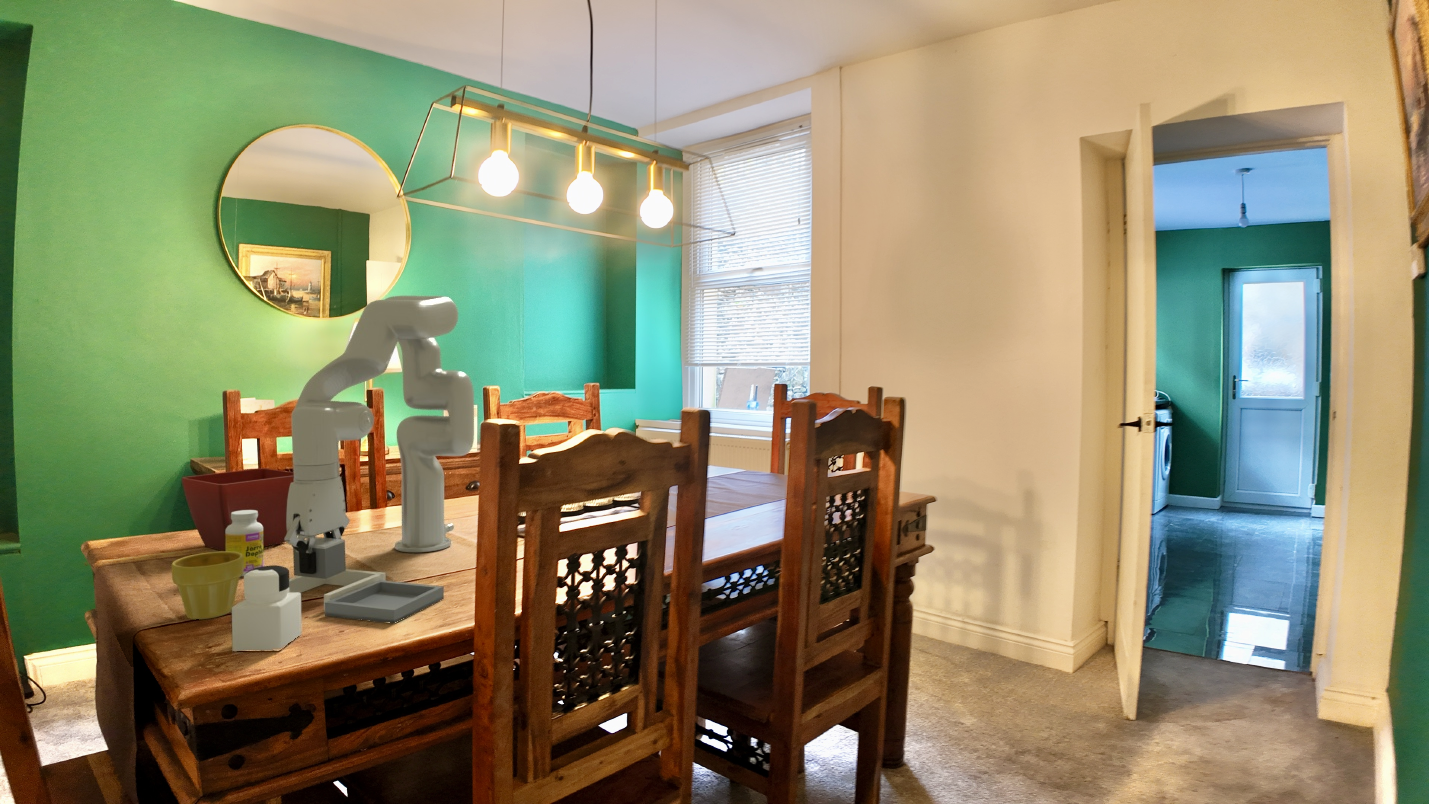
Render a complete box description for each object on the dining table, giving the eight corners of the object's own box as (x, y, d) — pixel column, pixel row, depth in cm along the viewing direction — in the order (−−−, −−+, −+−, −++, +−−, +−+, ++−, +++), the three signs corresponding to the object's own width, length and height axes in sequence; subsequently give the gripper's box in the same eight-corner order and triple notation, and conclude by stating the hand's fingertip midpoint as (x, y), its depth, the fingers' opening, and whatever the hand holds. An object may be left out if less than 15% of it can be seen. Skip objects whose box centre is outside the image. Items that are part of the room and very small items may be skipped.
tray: (379, 592, 142) (379, 580, 142) (443, 599, 139) (443, 586, 139) (325, 616, 129) (324, 602, 129) (394, 624, 126) (394, 610, 125)
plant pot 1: (180, 547, 174) (179, 476, 173) (265, 532, 190) (264, 467, 189) (221, 559, 164) (220, 484, 163) (307, 542, 180) (306, 474, 179)
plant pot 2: (180, 628, 122) (179, 570, 121) (166, 613, 129) (165, 558, 129) (252, 613, 130) (251, 558, 129) (235, 600, 137) (234, 547, 136)
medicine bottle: (256, 635, 119) (255, 562, 119) (302, 635, 120) (301, 562, 119) (231, 653, 112) (229, 575, 112) (280, 652, 113) (279, 574, 112)
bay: (324, 581, 149) (323, 566, 149) (385, 587, 145) (385, 572, 145) (263, 604, 135) (262, 587, 134) (329, 611, 131) (329, 595, 131)
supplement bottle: (245, 578, 150) (244, 516, 149) (217, 576, 151) (216, 514, 151) (271, 569, 156) (270, 509, 156) (244, 567, 158) (243, 508, 157)
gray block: (314, 567, 142) (313, 536, 141) (345, 570, 140) (344, 539, 139) (294, 575, 137) (292, 543, 136) (325, 578, 135) (324, 546, 135)
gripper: (333, 463, 146) (336, 554, 147) (261, 479, 129) (265, 580, 131) (366, 466, 144) (368, 557, 146) (297, 482, 128) (301, 584, 129)
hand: (319, 567), depth 138 cm, fingers closed on gray block, 5 cm apart
